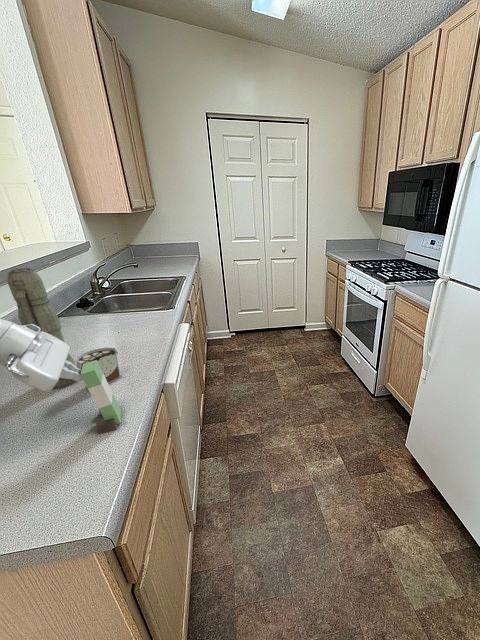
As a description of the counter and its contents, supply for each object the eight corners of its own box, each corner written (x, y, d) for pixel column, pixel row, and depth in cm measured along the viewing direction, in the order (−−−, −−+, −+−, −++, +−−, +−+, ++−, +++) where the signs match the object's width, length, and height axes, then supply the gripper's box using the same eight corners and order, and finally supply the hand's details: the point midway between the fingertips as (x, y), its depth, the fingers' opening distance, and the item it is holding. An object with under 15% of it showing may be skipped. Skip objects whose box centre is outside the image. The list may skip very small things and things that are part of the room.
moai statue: (42, 393, 99) (-8, 275, 84) (50, 376, 109) (7, 267, 93) (76, 386, 102) (34, 272, 87) (81, 370, 112) (44, 265, 97)
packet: (80, 374, 76) (94, 370, 77) (82, 363, 81) (96, 359, 82) (108, 427, 84) (121, 422, 85) (109, 414, 89) (121, 410, 90)
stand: (98, 434, 82) (95, 425, 81) (101, 412, 90) (98, 405, 89) (116, 429, 83) (114, 421, 82) (117, 408, 92) (115, 401, 90)
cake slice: (111, 371, 111) (103, 344, 107) (124, 375, 109) (116, 347, 104) (75, 389, 101) (65, 359, 97) (88, 393, 99) (78, 363, 94)
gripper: (10, 354, 63) (85, 386, 71) (34, 321, 79) (93, 350, 88) (-9, 380, 63) (68, 409, 71) (19, 342, 80) (79, 369, 88)
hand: (82, 376), depth 80 cm, fingers closed, pressing on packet
